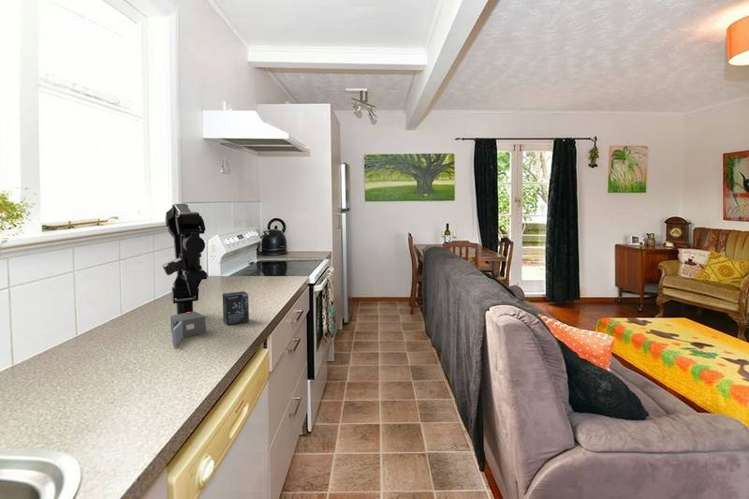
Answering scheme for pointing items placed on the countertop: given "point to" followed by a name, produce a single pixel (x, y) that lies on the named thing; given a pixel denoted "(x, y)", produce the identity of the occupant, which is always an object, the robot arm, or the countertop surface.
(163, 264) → the robot arm
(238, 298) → the box
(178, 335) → the side door
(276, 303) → the countertop surface
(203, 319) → the grey squat block
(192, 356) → the countertop surface
